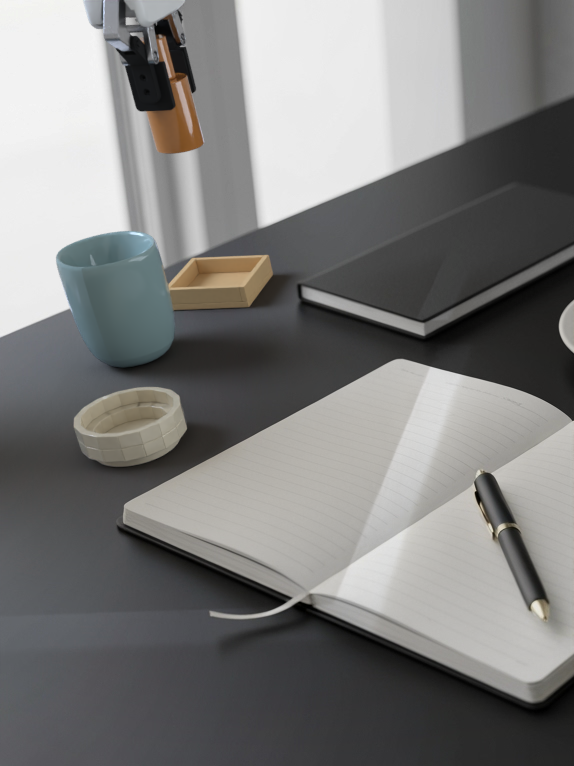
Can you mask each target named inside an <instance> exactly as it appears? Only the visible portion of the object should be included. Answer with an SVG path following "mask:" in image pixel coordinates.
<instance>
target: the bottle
mask: <svg viewBox="0 0 574 766" xmlns="http://www.w3.org/2000/svg"><path fill="white" fill-rule="evenodd" d="M155 36H156V42H157V48H158V54H159V61H165V64H166V68H167V72H168V76H169V80H170V84H171V88H172V92H173V96H174V100H175V104H176V106H175V108H173V109H172V110H166V111H145V114H146V117H147V121H148V125H149V127H150V132H151V135H152V139H153V143H154V146H155V150H156V152H157V153H160V154H164V155H165V154H166V155H173V154H182V153H188V152H192V151H194V150H197V149H199V148H201V147H202V146H204V144H205V139H204V135H203V131H202V128H201V124H200V119H199V115H198V112H197V108H196V104H195V99H194V96H193V93H192V92H191V88H190V84H189V80H188V76H187V75H186V74H183V73H175V70H174V67H173V63H172V59H171V55H170V51H169V47H168V44H167V40H166V36H165V35H155ZM139 39H140V40H141V41H142V42H143V43H144V39H143V36H141V37H139Z"/></svg>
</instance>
